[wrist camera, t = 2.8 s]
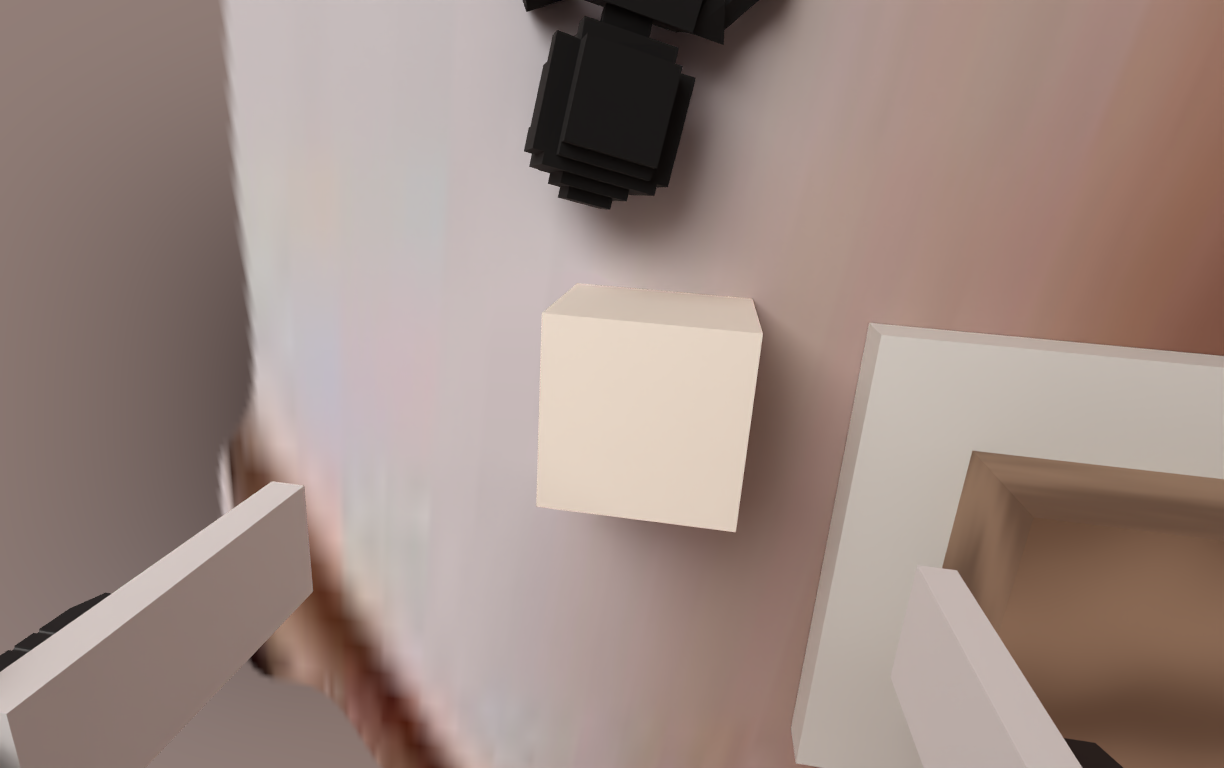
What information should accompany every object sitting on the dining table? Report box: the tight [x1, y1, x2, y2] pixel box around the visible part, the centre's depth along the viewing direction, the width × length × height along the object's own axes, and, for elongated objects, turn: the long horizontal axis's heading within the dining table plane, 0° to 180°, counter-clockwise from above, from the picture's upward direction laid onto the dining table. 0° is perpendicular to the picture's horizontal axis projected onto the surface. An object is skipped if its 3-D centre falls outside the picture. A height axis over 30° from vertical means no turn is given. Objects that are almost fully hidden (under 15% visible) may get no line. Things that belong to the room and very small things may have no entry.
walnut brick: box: [942, 451, 1224, 768], centre depth 23 cm, size 12×12×5 cm
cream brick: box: [536, 283, 763, 532], centre depth 25 cm, size 7×7×6 cm
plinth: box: [791, 323, 1224, 768], centre depth 27 cm, size 20×20×2 cm
